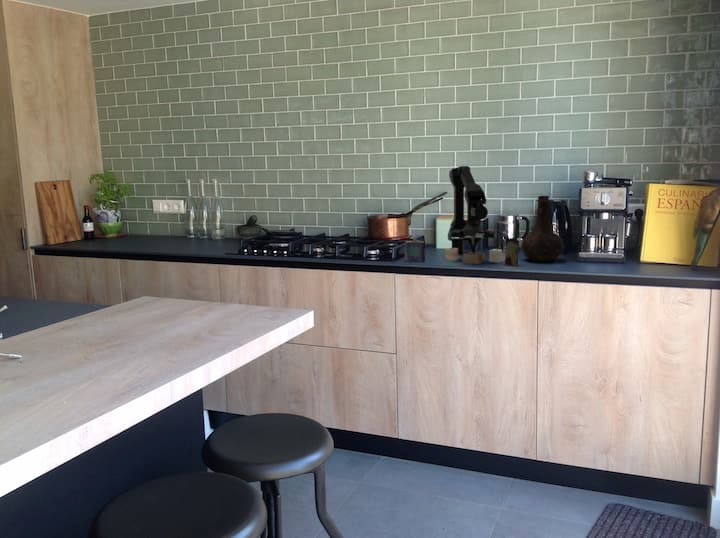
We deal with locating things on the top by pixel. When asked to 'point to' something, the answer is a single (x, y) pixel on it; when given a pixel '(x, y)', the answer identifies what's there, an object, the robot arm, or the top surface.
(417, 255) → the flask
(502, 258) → the grey block marked
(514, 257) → the mug
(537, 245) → the brown bottle vase
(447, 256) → the beech block marked
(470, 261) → the walnut block
